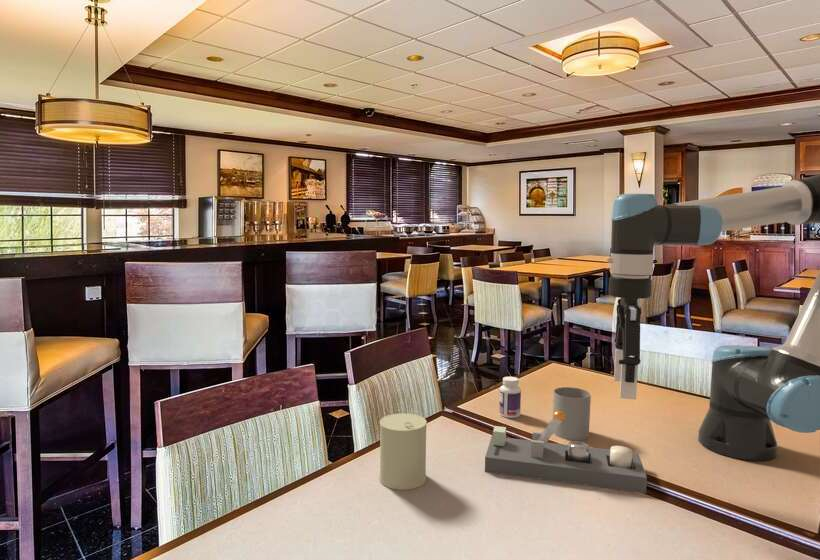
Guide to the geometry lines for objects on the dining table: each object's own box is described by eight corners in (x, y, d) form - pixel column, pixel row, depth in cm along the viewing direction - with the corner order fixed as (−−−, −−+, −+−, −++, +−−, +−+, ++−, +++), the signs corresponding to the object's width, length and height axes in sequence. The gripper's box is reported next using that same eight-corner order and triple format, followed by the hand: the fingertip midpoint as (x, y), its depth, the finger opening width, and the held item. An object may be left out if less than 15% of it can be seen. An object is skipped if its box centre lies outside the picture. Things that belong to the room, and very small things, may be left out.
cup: (590, 441, 121) (592, 399, 120) (553, 438, 123) (555, 397, 122) (586, 428, 130) (587, 388, 128) (551, 425, 131) (552, 386, 130)
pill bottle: (523, 413, 139) (524, 377, 138) (515, 420, 134) (516, 382, 133) (503, 409, 142) (505, 374, 141) (495, 415, 137) (496, 379, 136)
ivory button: (629, 463, 106) (630, 447, 106) (632, 472, 102) (633, 455, 102) (608, 461, 107) (609, 444, 107) (610, 470, 103) (611, 452, 103)
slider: (505, 440, 114) (506, 427, 113) (504, 446, 111) (504, 432, 111) (494, 439, 114) (494, 425, 114) (492, 444, 112) (493, 431, 111)
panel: (637, 467, 109) (639, 438, 108) (646, 493, 98) (647, 461, 98) (491, 449, 117) (492, 422, 116) (484, 471, 106) (485, 441, 106)
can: (391, 494, 97) (392, 431, 96) (371, 473, 105) (371, 415, 104) (435, 483, 101) (436, 423, 100) (412, 464, 109) (413, 407, 108)
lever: (542, 447, 110) (567, 413, 108) (542, 453, 107) (567, 418, 105) (532, 441, 110) (557, 406, 108) (532, 446, 107) (557, 411, 105)
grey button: (587, 458, 108) (588, 442, 108) (588, 467, 104) (589, 450, 104) (567, 456, 109) (568, 440, 109) (567, 464, 105) (568, 447, 105)
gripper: (604, 270, 112) (599, 371, 115) (615, 281, 90) (608, 406, 93) (642, 271, 110) (636, 374, 113) (663, 283, 88) (655, 411, 91)
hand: (624, 389), depth 103 cm, fingers open, 10 cm apart
